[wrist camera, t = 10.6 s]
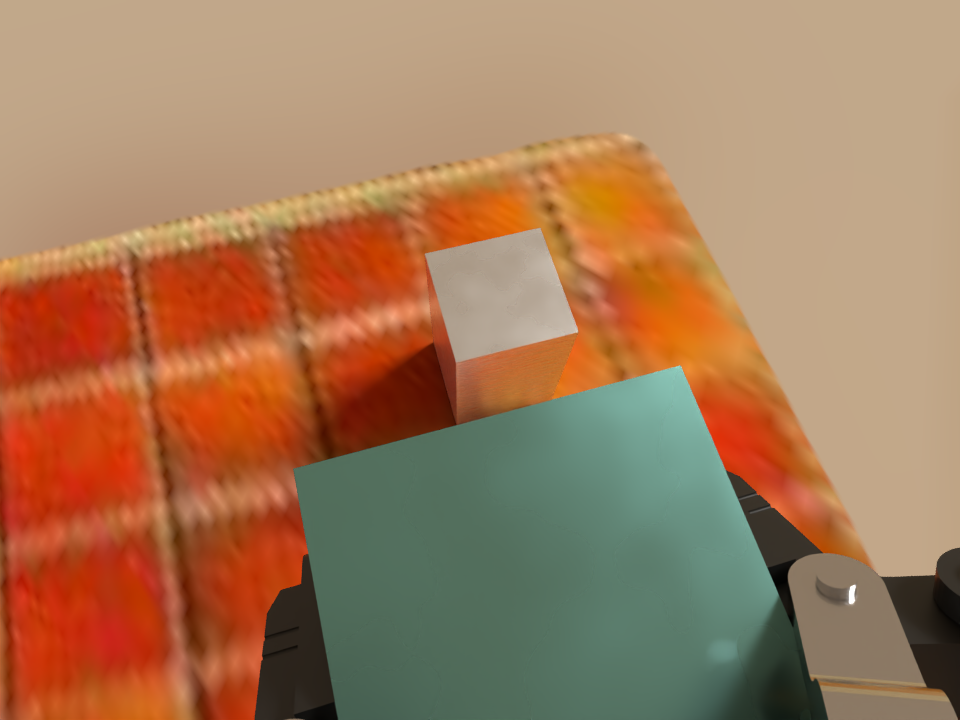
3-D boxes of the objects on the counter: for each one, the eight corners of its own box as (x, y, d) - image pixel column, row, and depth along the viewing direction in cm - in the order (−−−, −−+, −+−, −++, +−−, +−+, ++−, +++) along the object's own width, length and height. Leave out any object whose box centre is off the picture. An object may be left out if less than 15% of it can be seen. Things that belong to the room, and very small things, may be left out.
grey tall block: (457, 428, 33) (456, 362, 25) (433, 342, 35) (424, 253, 27) (549, 404, 34) (578, 332, 26) (521, 320, 36) (540, 227, 28)
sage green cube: (419, 833, 13) (385, 987, 7) (355, 526, 15) (292, 468, 10) (706, 734, 14) (870, 807, 8) (605, 456, 16) (680, 365, 10)
